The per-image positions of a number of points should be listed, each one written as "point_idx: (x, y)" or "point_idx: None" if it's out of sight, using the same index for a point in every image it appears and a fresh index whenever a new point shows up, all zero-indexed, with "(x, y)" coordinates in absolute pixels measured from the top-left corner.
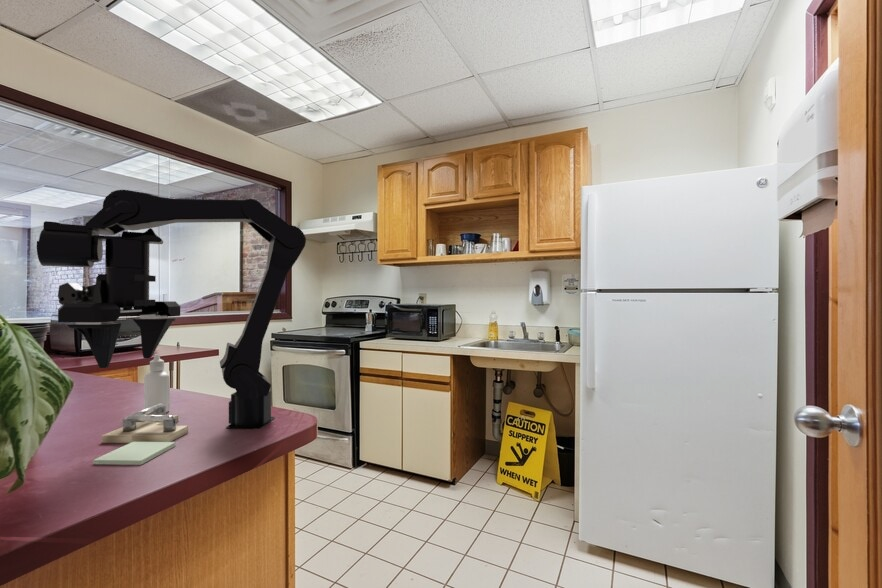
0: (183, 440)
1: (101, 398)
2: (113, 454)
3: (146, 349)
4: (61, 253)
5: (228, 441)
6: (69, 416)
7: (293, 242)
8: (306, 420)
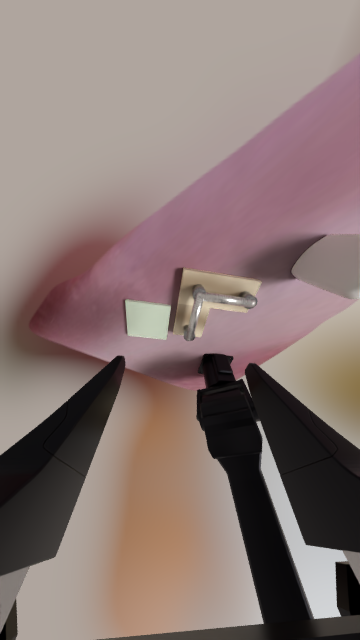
0: (179, 337)
1: None
2: (138, 309)
3: (258, 387)
4: None
5: (173, 363)
6: None
7: None
8: None
